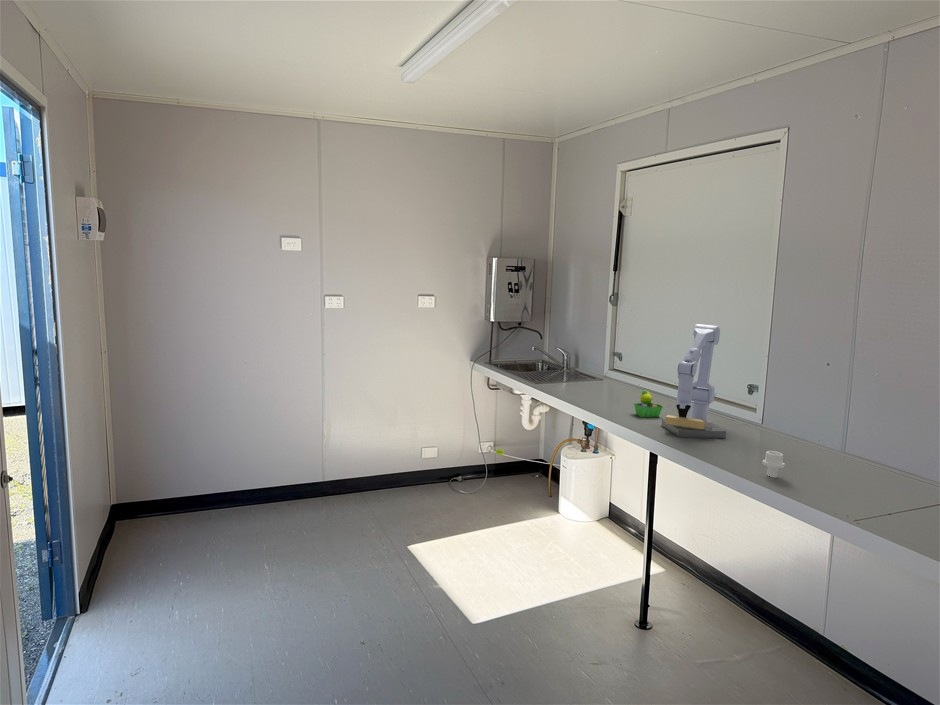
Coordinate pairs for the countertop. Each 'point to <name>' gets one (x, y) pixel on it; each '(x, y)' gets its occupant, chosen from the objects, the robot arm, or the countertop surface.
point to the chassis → (695, 431)
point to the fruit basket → (647, 406)
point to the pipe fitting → (773, 462)
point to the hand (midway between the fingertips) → (682, 421)
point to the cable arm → (689, 422)
